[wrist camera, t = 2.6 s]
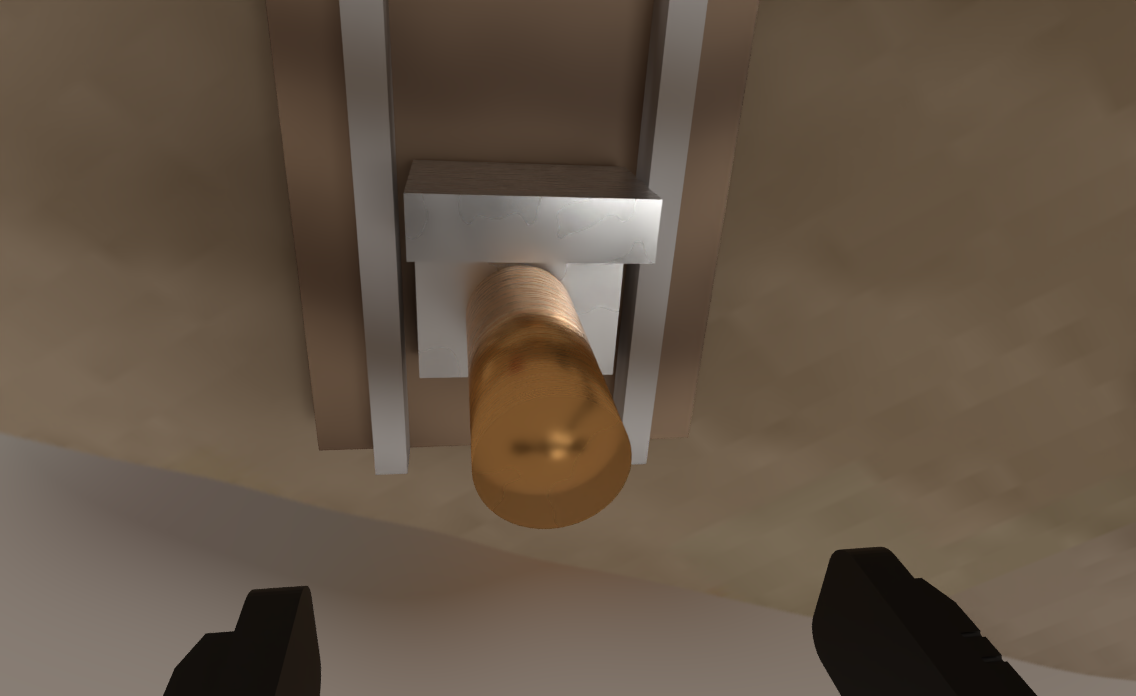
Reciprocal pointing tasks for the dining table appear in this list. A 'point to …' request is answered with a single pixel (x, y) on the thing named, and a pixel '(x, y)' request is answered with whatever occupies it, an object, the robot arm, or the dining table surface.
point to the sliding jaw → (530, 321)
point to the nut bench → (501, 135)
